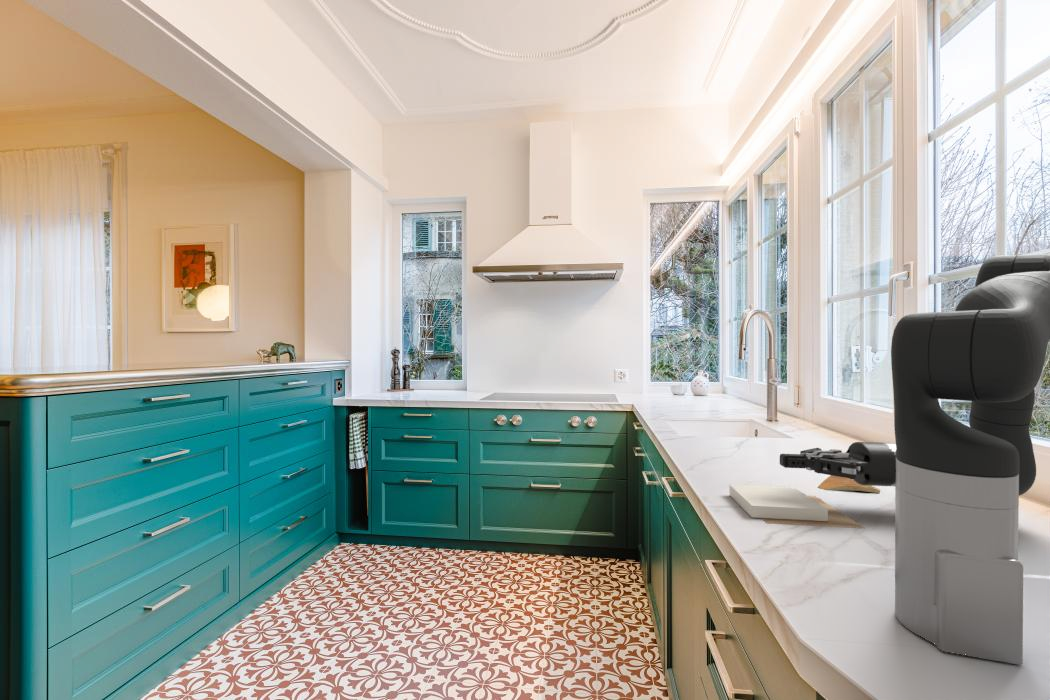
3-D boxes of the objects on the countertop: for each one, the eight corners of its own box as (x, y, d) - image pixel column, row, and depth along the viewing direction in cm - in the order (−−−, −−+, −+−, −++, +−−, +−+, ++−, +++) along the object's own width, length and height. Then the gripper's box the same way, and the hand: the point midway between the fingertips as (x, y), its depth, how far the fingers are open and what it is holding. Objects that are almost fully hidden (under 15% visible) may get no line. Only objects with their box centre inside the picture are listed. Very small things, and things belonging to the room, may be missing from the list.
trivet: (865, 530, 72) (865, 528, 72) (766, 525, 74) (766, 522, 74) (814, 497, 88) (814, 495, 88) (734, 494, 90) (734, 492, 90)
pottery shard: (818, 493, 93) (818, 481, 93) (817, 481, 100) (817, 470, 100) (882, 502, 87) (882, 489, 87) (876, 489, 95) (876, 477, 95)
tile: (827, 509, 75) (752, 505, 76) (827, 521, 75) (752, 517, 76) (794, 487, 87) (729, 484, 88) (794, 498, 87) (729, 495, 88)
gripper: (862, 435, 86) (766, 433, 88) (913, 451, 72) (798, 448, 75) (862, 474, 86) (766, 471, 88) (912, 497, 73) (798, 492, 75)
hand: (781, 460), depth 81 cm, fingers closed
